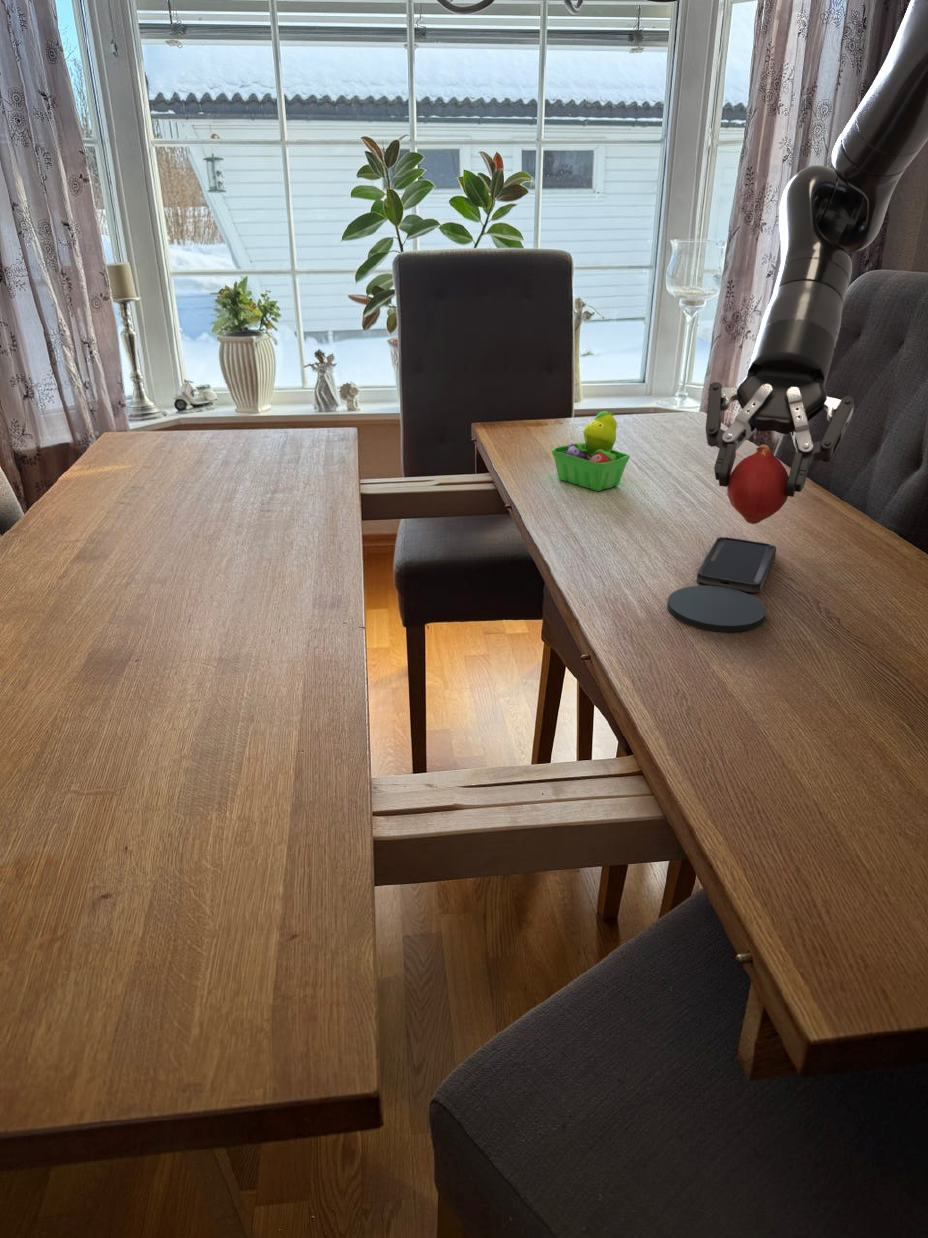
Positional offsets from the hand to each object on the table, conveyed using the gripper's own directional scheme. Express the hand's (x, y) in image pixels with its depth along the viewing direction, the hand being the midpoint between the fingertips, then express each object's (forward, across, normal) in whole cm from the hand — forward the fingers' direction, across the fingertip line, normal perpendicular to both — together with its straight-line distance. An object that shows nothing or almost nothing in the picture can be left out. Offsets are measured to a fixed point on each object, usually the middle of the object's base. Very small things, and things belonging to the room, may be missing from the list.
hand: (756, 486), depth 85 cm
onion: (+2, 0, +4) cm, 5 cm away
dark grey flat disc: (+6, -4, +20) cm, 21 cm away
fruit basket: (-22, -33, +50) cm, 64 cm away
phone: (-4, -4, +30) cm, 31 cm away
